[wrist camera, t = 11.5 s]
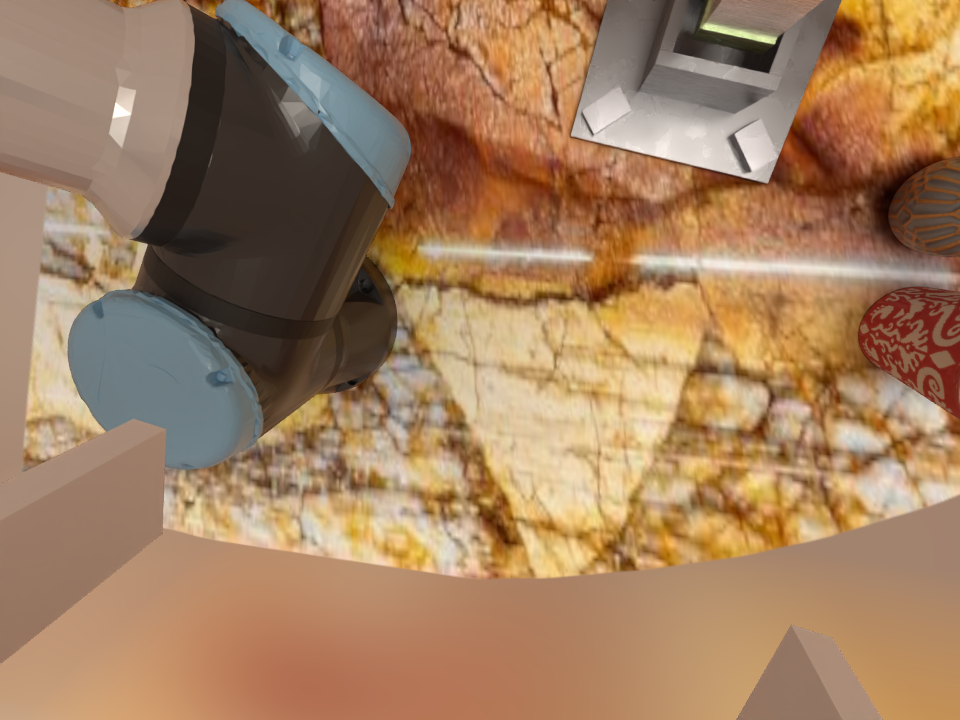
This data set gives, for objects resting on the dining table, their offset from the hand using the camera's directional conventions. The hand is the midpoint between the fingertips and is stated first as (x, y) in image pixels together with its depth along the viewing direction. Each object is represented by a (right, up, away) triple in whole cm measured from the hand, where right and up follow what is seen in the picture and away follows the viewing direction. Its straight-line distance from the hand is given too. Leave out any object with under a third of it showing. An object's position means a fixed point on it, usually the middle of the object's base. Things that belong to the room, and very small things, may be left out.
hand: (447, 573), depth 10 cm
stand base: (+18, +28, +28) cm, 44 cm away
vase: (+35, +16, +29) cm, 49 cm away
